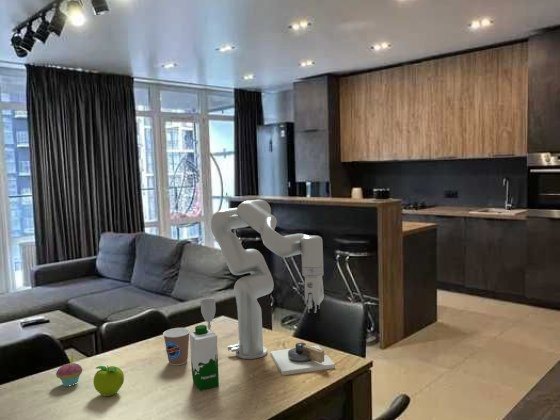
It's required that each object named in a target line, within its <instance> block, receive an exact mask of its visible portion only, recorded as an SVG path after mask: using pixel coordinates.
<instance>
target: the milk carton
mask: <svg viewBox="0 0 560 420" xmlns="http://www.w3.org/2000/svg"><path fill="white" fill-rule="evenodd" d="M207 326H208V325H206V324H199V325H196V326H195V327H194V331H193V332H189V341H190V342H189V344H190V345H189V346H190V362H191V363H190V366H191V376H192V381H193V382H192V383H193V384H194V386H195V387H196V388H197V390H198V391H205V390H209V389H211V388H217V387H219V386H220V383H219V382H220V381H219V379H220V377H219V356H218V335H217V334H216V332H214V331H212V329H211V328H210V329H211V330H210V329H209V330H208V327H207Z"/></svg>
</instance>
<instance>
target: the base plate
mask: <svg viewBox="0 0 560 420" xmlns="http://www.w3.org/2000/svg"><path fill="white" fill-rule="evenodd" d="M310 346H311V347H314V348H317V349H320V350H323V349H322V347H320V346H319V344H317V345H316V344H315V345H310ZM291 349H293V348H292V347H291V348H286V349H278V350H272V351H271V350H270V351H269V352H270V353H269V355H270V357H271V359H272V360H273V362H274V364H275V365H276V368H277V369H278V371H279V373H280V374H281V376H286V375H294V374H295V375H296V374H300V373H302V374H303V373H309V372H314V371H323V370H330V369H335V368H336V364H335V363H334V361H333V360H332V358H330V357H329V356H328V355H327V354H326V352H325V351H324V362H322V363H319V362H316V361H314V360H311V361H308V362H293V361H291V360H289V359H288V351H289V350H291Z"/></svg>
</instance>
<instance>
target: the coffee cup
mask: <svg viewBox="0 0 560 420" xmlns="http://www.w3.org/2000/svg"><path fill="white" fill-rule="evenodd" d="M190 331H191V329H189V328H186V327H175V328H170V329H167V330H165V331H164V332H162V335H163V337H164V342H165V343H164V344H165V351H166V354H167V360H168V363H169V365H172V366H179V365H184V364H186V363H187V362H188V359H189V358H188V357H189V354H188V353H189V344H190V342H189V341H190V333H191V332H190Z"/></svg>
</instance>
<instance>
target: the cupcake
mask: <svg viewBox="0 0 560 420" xmlns="http://www.w3.org/2000/svg"><path fill="white" fill-rule="evenodd" d="M73 359H74V352H73V351H71V354H70V363H66V364H63V365H61V366H60V367H59V368H57V371H56V374H55V376H56V378H58V379H60V381H61V383H62V385H63V386H64V385H65V386H64V387H66V386H69V385H73V384H75V383H77V382H78V383H79V379H80V377H81V374H82V373H83V367H82V366H81V364H79V363H76V362H75V363H74V362H73ZM78 383H77V384H78ZM69 387H70V386H69Z"/></svg>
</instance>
